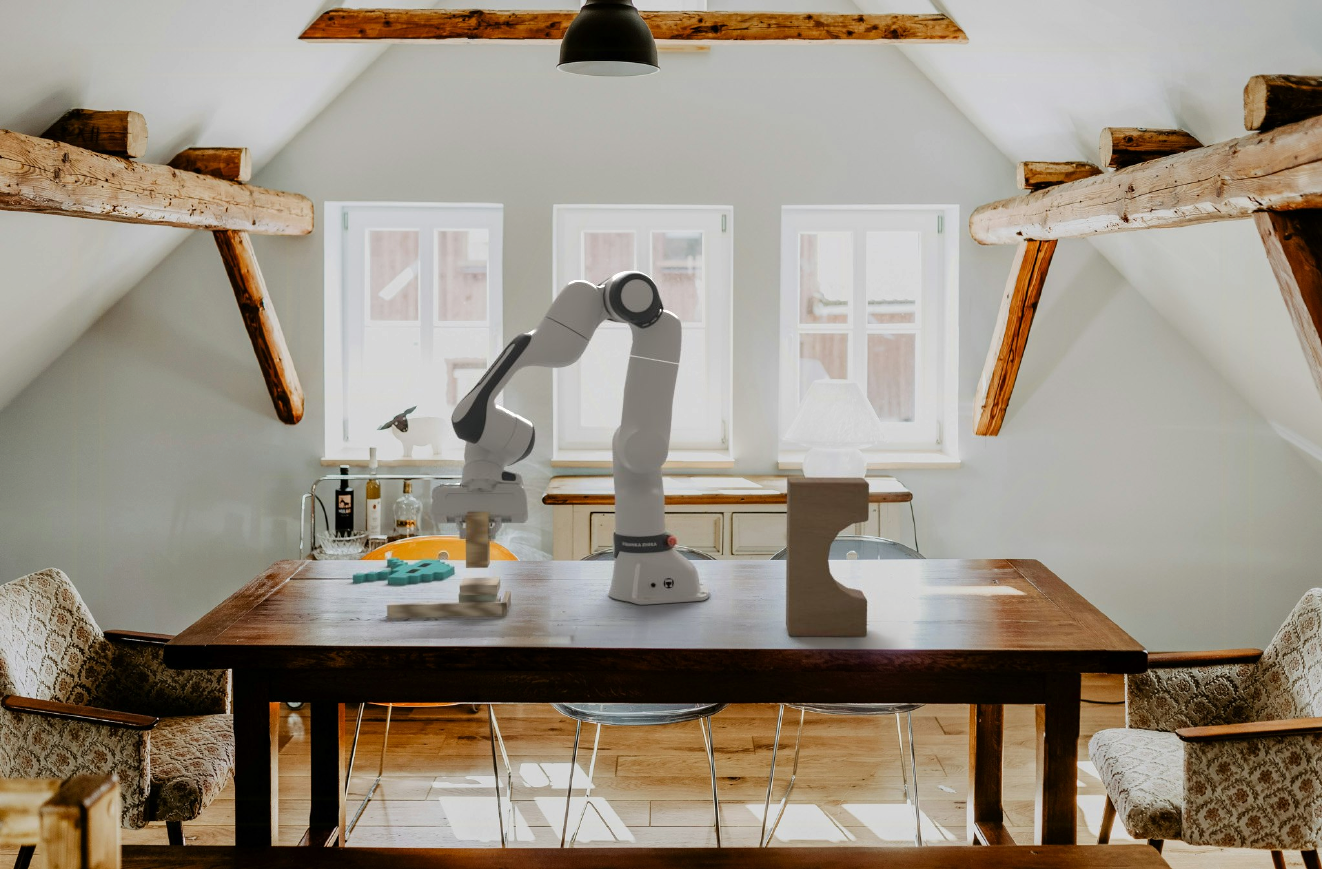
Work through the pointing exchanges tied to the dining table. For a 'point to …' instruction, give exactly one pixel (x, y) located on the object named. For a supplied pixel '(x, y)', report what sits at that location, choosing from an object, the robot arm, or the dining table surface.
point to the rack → (450, 609)
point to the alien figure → (408, 572)
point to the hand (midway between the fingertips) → (477, 537)
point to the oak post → (477, 540)
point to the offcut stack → (479, 590)
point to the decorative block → (822, 556)
